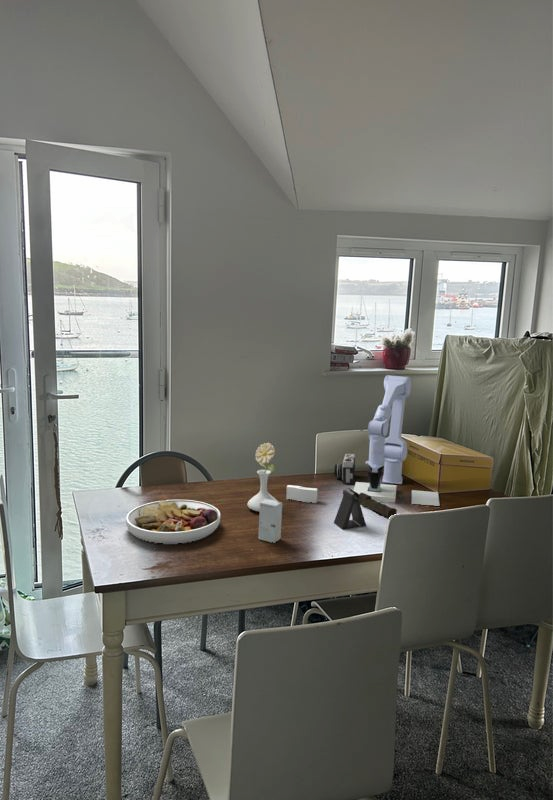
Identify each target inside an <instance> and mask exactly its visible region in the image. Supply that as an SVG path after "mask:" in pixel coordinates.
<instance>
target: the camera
mask: <svg viewBox="0 0 553 800" xmlns="http://www.w3.org/2000/svg"><path fill="white" fill-rule="evenodd" d="M355 455H356V454H355V453H345V455H344V456H343V457H344V458H343V461H342V463H335V464H334V467H333V468H334V472H333V473H334V477H337V478H339V479H341V480H342V484H343V485H353V484H354V479H355V475H356V470H355V469H356V456H355Z"/></svg>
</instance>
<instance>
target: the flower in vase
mask: <svg viewBox="0 0 553 800" xmlns="http://www.w3.org/2000/svg"><path fill="white" fill-rule="evenodd" d="M275 449H276V448H275V447H274V446H273V444H271V443H270V442H267V443H265V442H264V443H263V444H260V445H259V446H258V447H257V449H256V450H255V461H256V462H257V463H258V464H259V465H260V466H261V467H262V468H264V469H258V470H257V471H256V473H257V474H258V477H259V481H260V490H259V492H258V493H257V494H255V495H253V496H252V497H251V498H250V499H249V500H248V502H247V505H246V506H248V508H249V509H250V510H252V511H255V512H260V502H262V501H263V500H265V499H269V500H275V501H278V500H277V498H275V497H274V496H272V495H271V494H270V493H269V491H268V480H269V476H270V475H271V474H272V472H276V468H275V466H274V464H273V463H272V464H270V463H271V461H272V460H273V458H274V456H275V452H276V450H275ZM265 464H268V465H267V466H266V465H265Z"/></svg>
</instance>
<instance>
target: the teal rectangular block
mask: <svg viewBox="0 0 553 800" xmlns="http://www.w3.org/2000/svg"><path fill="white" fill-rule="evenodd" d="M381 478H382V476H381V477H380V479H379V484H378V488H377V489H372V488H371V482H370V481H369V483H370V486H369V491H370V492H380V486H381V484H382V479H381Z"/></svg>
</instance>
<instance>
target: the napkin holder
mask: <svg viewBox="0 0 553 800" xmlns="http://www.w3.org/2000/svg"><path fill="white" fill-rule="evenodd" d="M285 494H286V498H285V500H288V499H290V501H297V502H299V501H302V502H301V503H310V502H312V503H311V504H317V502H318V488H316V487H315V488H314V487H305V486H301V485H291V484H287V485H286V493H285ZM291 499H292V500H291Z"/></svg>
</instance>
